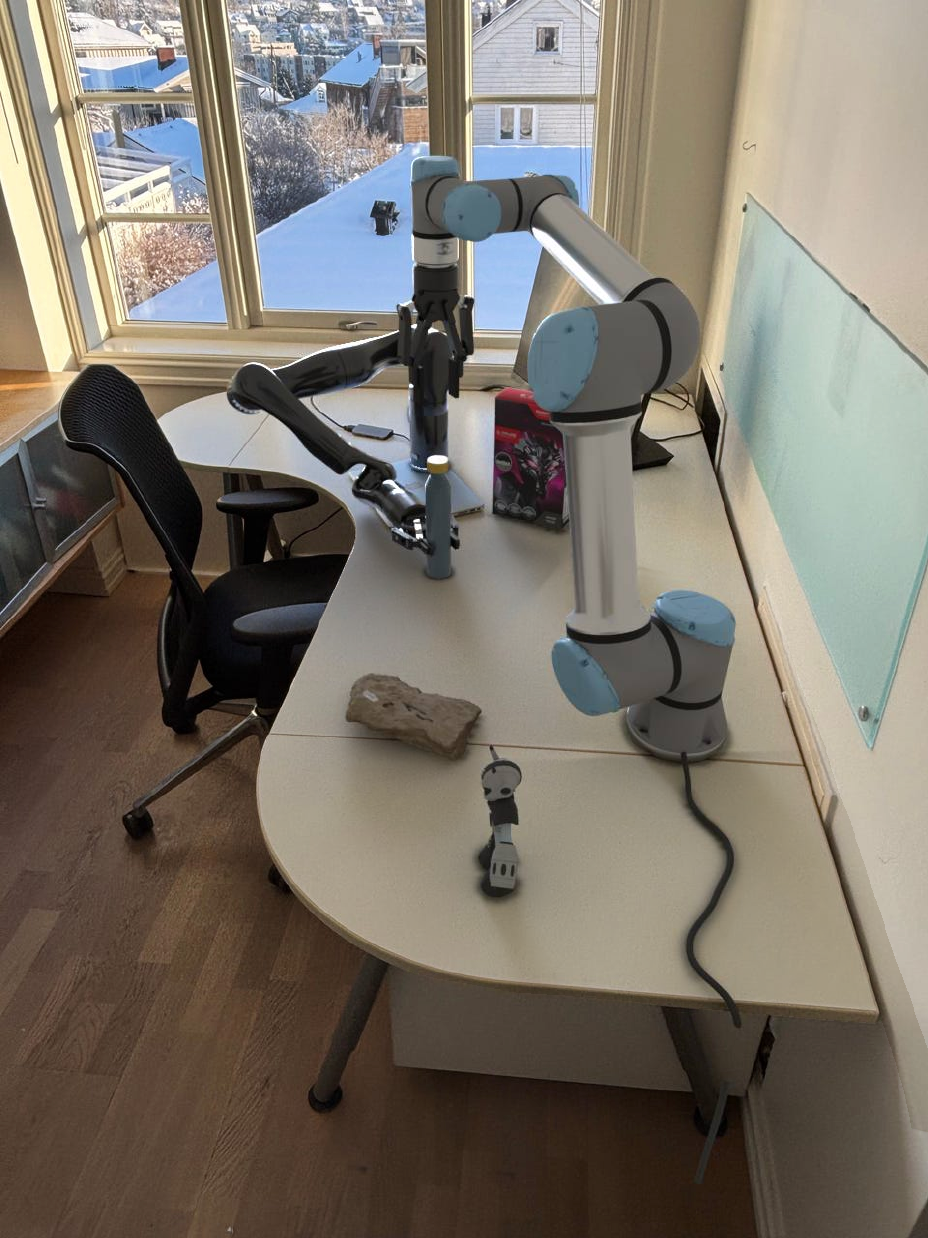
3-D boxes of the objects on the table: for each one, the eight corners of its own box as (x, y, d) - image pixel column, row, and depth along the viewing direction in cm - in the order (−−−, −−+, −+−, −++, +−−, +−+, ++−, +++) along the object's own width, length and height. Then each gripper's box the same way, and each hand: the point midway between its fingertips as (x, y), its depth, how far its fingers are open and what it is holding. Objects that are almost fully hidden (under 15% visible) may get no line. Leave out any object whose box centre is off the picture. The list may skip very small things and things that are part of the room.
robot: (523, 934, 111) (531, 817, 100) (483, 936, 111) (487, 818, 100) (509, 815, 128) (514, 703, 117) (474, 816, 127) (476, 704, 116)
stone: (319, 730, 137) (326, 695, 135) (356, 690, 151) (363, 658, 148) (450, 779, 134) (460, 744, 131) (477, 733, 147) (486, 701, 145)
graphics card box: (489, 515, 202) (492, 395, 187) (503, 502, 207) (507, 384, 192) (561, 533, 196) (570, 410, 180) (573, 519, 201) (583, 399, 186)
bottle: (434, 563, 185) (432, 454, 172) (455, 569, 183) (455, 459, 170) (422, 574, 181) (419, 463, 168) (443, 581, 179) (443, 469, 166)
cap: (433, 462, 172) (433, 453, 171) (452, 467, 171) (452, 457, 170) (423, 470, 169) (423, 461, 168) (442, 475, 168) (442, 465, 167)
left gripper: (373, 503, 184) (411, 540, 172) (437, 488, 190) (478, 523, 177) (375, 536, 188) (412, 574, 176) (437, 521, 194) (477, 556, 182)
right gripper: (391, 274, 143) (396, 415, 156) (498, 261, 151) (494, 396, 164) (371, 263, 149) (377, 401, 162) (475, 251, 156) (473, 383, 169)
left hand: (445, 548), depth 177 cm, fingers closed on bottle, 5 cm apart
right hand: (436, 398), depth 163 cm, fingers open, 6 cm apart
